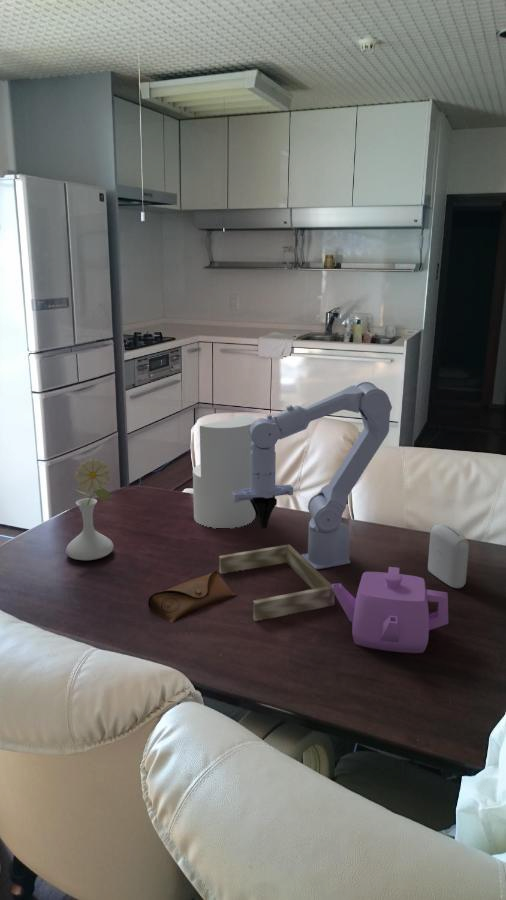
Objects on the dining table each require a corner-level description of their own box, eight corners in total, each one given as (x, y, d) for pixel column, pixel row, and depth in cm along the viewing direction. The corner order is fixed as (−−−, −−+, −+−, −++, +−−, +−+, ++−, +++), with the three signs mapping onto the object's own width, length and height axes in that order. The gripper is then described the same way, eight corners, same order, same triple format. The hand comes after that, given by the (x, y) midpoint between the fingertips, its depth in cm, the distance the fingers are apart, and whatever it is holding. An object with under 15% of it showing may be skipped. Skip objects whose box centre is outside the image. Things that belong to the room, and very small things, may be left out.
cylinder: (268, 516, 182) (268, 419, 174) (223, 534, 170) (222, 431, 162) (225, 501, 193) (224, 410, 185) (181, 517, 181) (178, 420, 173)
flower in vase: (56, 560, 155) (47, 461, 148) (85, 541, 165) (77, 448, 158) (102, 569, 150) (94, 467, 143) (128, 550, 160) (123, 454, 153)
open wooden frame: (289, 559, 155) (289, 544, 154) (334, 605, 135) (334, 587, 133) (219, 571, 149) (219, 555, 148) (255, 621, 128) (255, 603, 127)
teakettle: (453, 641, 122) (459, 582, 118) (388, 671, 113) (392, 608, 110) (389, 603, 136) (393, 549, 132) (326, 626, 127) (328, 569, 123)
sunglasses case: (171, 624, 127) (160, 591, 128) (154, 627, 133) (144, 596, 133) (240, 594, 139) (229, 564, 140) (222, 598, 144) (212, 570, 145)
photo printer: (424, 570, 150) (428, 520, 146) (440, 567, 151) (444, 518, 148) (451, 590, 141) (457, 538, 137) (468, 587, 142) (473, 535, 139)
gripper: (239, 480, 141) (239, 537, 145) (299, 473, 146) (298, 528, 150) (228, 471, 147) (229, 526, 151) (286, 464, 152) (285, 517, 156)
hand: (262, 526), depth 151 cm, fingers closed
